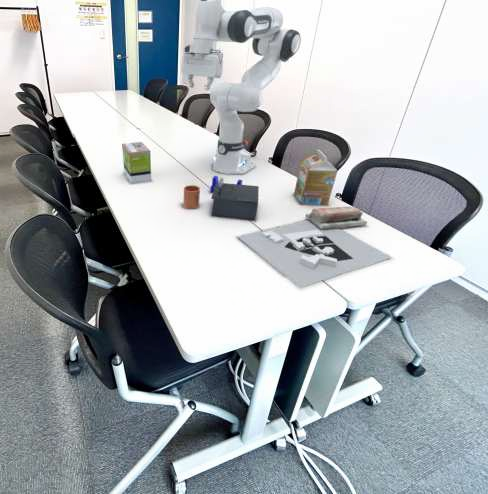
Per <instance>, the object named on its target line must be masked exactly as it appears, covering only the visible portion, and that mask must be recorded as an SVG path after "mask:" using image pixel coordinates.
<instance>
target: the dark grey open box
mask: <svg viewBox="0 0 488 494" xmlns="http://www.w3.org/2000/svg"><path fill="white" fill-rule="evenodd" d="M212 201H213V203H212V213H211V216H212V217H219V218H227V219H237V220H245V221H254V222H255V221H256V219H257V218H256V217H257V211H258V206H259V202H258V203H248V202H238V201H228V200H218V199H212Z"/></svg>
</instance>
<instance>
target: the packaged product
mask: <svg viewBox="0 0 488 494" xmlns="http://www.w3.org/2000/svg"><path fill="white" fill-rule="evenodd" d="M304 216H305V218H307V220H311V221H312V222H313V223H314V224H316V225H317V226H318V227H320V228H321V229H326V228H338V229H341V228H344V229H345V228H351V227H360V226H362V227H363V226H366V225H367V224H368V221H367V220H365V219H363V218H362V216H363V211H361V209H360V208H357V207H353V206H333V207H315V208H312V209H311V212H310V213H306V214H305V215H304Z"/></svg>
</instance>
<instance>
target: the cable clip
mask: <svg viewBox="0 0 488 494" xmlns="http://www.w3.org/2000/svg"><path fill="white" fill-rule="evenodd" d="M219 180H220V179H219V176H218V175H214V176H213V177H212V181H211V185H210V194H213V191H214V188H215V184H216V183H219ZM236 184H239V185H243V179H237V182H236Z"/></svg>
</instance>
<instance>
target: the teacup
mask: <svg viewBox="0 0 488 494" xmlns="http://www.w3.org/2000/svg"><path fill="white" fill-rule="evenodd" d="M200 195H201V187H200V186H198V185H185V186H183V203H182V205H183V207H184V208H185V209H190V210H195V209H197V208H199V207H200V199H201V197H200Z"/></svg>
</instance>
